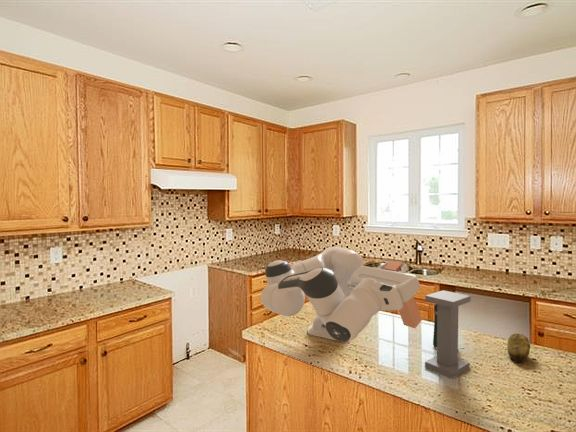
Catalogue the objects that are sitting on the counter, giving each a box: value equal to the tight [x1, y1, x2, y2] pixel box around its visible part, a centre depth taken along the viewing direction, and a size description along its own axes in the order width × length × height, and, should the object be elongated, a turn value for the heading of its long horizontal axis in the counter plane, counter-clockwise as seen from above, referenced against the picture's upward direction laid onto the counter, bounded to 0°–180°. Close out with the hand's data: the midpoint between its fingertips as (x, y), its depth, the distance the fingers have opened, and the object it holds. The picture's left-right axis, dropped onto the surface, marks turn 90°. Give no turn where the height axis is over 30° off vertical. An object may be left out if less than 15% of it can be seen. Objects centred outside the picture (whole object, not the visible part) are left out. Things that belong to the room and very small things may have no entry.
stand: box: [424, 289, 472, 379], centre depth 119 cm, size 12×10×26 cm
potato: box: [506, 333, 531, 363], centre depth 127 cm, size 8×13×8 cm, turn 129°
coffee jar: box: [432, 303, 437, 349], centre depth 136 cm, size 10×8×19 cm
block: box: [384, 260, 422, 329], centre depth 102 cm, size 22×4×4 cm
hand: (397, 264), depth 100 cm, fingers closed on block, 4 cm apart
